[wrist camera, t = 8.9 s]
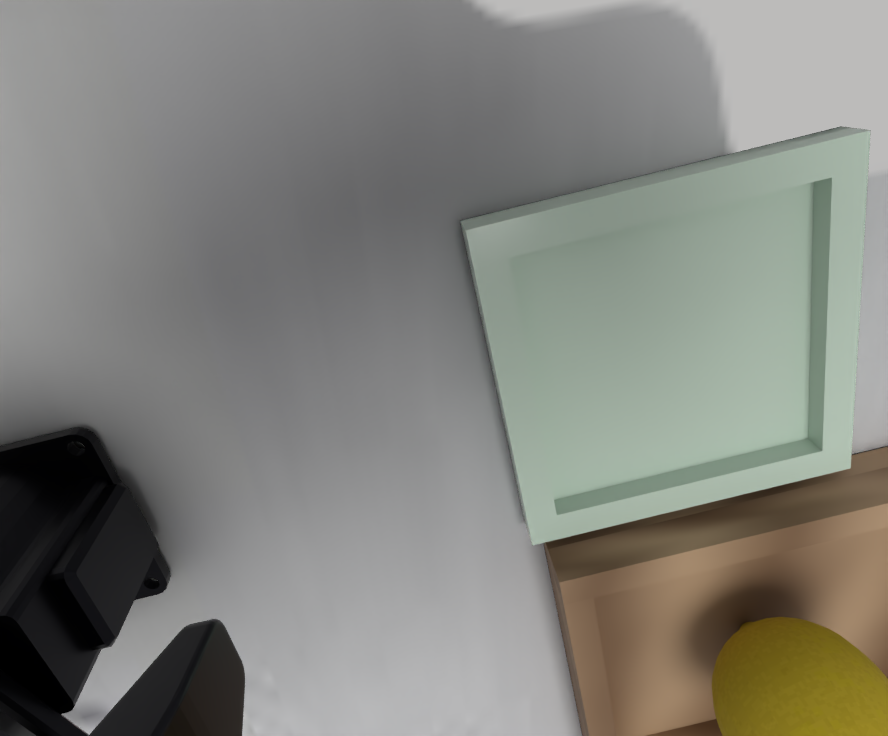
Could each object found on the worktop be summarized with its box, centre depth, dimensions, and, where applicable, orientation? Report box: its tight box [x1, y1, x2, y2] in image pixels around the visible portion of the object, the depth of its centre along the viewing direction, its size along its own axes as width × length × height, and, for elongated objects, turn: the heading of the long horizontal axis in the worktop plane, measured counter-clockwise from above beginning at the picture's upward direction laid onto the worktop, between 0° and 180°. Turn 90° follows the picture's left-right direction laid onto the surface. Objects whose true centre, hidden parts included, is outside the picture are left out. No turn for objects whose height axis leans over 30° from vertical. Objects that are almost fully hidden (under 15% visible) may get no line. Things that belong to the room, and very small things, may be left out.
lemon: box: [712, 617, 888, 736], centre depth 21 cm, size 6×6×8 cm
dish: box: [460, 127, 870, 545], centre depth 20 cm, size 11×11×1 cm
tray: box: [544, 447, 888, 736], centre depth 25 cm, size 14×12×3 cm
